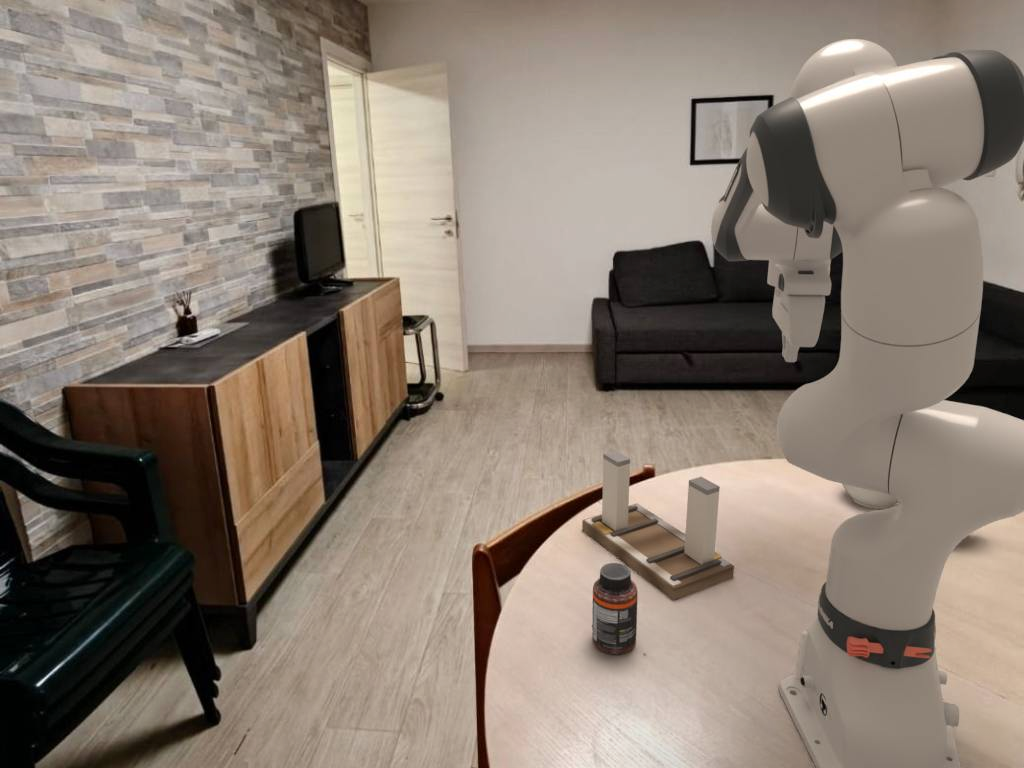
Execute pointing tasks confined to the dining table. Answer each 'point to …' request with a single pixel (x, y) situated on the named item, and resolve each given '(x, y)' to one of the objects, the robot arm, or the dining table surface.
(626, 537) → the slotted wooden base
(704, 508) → the tab
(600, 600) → the supplement bottle
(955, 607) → the dining table surface
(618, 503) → the tab
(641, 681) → the dining table surface
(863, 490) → the lidded bowl
